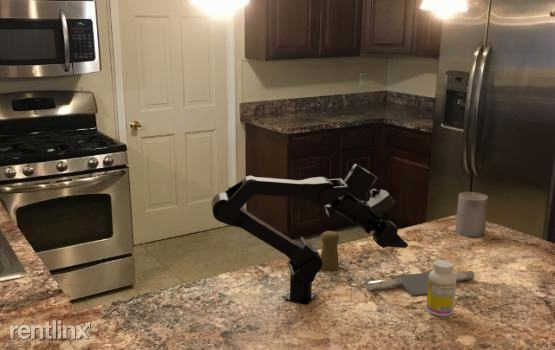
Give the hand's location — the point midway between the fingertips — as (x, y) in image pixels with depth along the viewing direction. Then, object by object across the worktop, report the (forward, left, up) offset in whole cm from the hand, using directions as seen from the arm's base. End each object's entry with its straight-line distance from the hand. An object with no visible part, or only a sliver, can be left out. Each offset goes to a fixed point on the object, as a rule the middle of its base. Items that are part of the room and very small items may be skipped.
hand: (400, 239), depth 147 cm
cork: (+7, +22, -15) cm, 28 cm away
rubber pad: (+8, -5, -15) cm, 18 cm away
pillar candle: (+58, -12, -15) cm, 62 cm away
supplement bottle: (-6, -12, -15) cm, 20 cm away
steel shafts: (+8, -5, -15) cm, 18 cm away
